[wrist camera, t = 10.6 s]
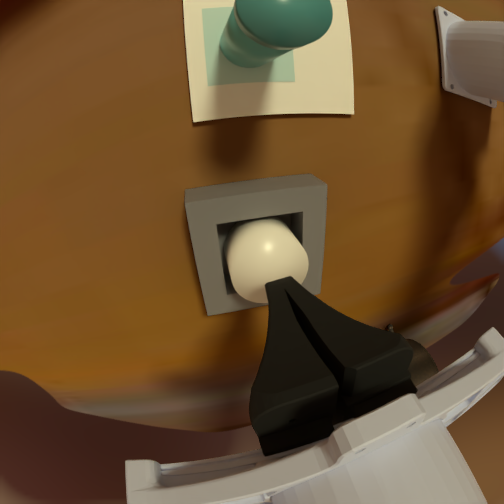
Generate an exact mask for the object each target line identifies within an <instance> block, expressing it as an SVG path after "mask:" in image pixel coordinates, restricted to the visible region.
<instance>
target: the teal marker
mask: <svg viewBox="0 0 504 504" xmlns="http://www.w3.org/2000/svg"><path fill="white" fill-rule="evenodd" d="M332 19H333V9H332V5H331V2H330V0H235V2H234V6H233V9H232V11H231V13H230V16H229V18H228V20H227V23H226V25H225V27H224V30H223V32H222V35H221V38H220V47H221V51H222V53H223V55H224V56H225V57H226V58H227V59H228V60H229V61H230V62H231V63H233V64H235V65H237V66H240V67H244V68H255V67H259V66H262V65H264V64H266V63H268V62H270V61H272V60H274V59H275V58H277V57H279V56H281V55H283V54H285V53H287V52H289V51H292V50H294V49H297V48H301V47H303V46H305V45H308V44H310V43H312V42H315V41H316V40H318V39H320V38H321V37H322V36H324V34H325V33H326V32H327V31H328V29H329V28H330V26H331V23H332Z"/></svg>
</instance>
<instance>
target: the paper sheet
mask: <svg viewBox="0 0 504 504" xmlns="http://www.w3.org/2000/svg"><path fill="white" fill-rule="evenodd" d="M234 2H235V0H183V9H184V25H185V40H186V53H187V65H188V76H189V87H190V97H191V106H192V116H193V122H199V121H206V120H214V119H223V118H232V117H242V116H255V115H270V114H296V113H332V114H354V87H353V65H352V50H351V38H350V27H349V18H348V10H347V2H346V0H330V2H331V5H332V9H333V19H332V23H331V26H330V28H329V29H328V31H327V32H326V33H325V34H324V36H322V37H321V38H320V39H318V40H316V41H315V42H312V43H310V44H308V45H305V46H303V47H301V48H297V49H294V50H292V51H289V52H287V53H285V54H283V55H281V56H279V57H277V58H275V59H274V60H272V61H270V62H268V63H266V64H264V65H262V66H259V67H255V68H244V67H240V66H237V65H235V64H233V63H231V62H230V61H229V60H228V59H227V58H226V57H225V56H224V55H223V53H222V51H221V47H220V38H221V35H222V32H223V30H224V27H225V25H226V23H227V20H228V18H229V16H230V13H231V11H232V9H233V6H234Z"/></svg>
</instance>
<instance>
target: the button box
mask: <svg viewBox="0 0 504 504" xmlns="http://www.w3.org/2000/svg"><path fill="white" fill-rule="evenodd" d="M326 205H327V184H326V183H324V182H323V181H321V180H320V179H318V178H317V177H315V176H314V175H312V174H302V175H291V176H281V177H272V178H263V179H255V180H247V181H239V182H232V183H225V184H218V185H211V186H205V187H199V188H193V189H187V190H185V208H186V214H187V219H188V225H189V230H190V235H191V240H192V245H193V251H194V255H195V260H196V265H197V270H198V275H199V279H200V284H201V288H202V293H203V297H204V302H205V306H206V310H207V315H208V316H210V315H216V314H222V313H227V312H233V311H238V310H243V309H249V308H254V307H259V306H264V305H268V303H256V302H251V301H249V300H246V299H245V298H243V297H242V296H240V295H239V294H238V293H237V292H236V290H235V288H234V287H233V284H232V280H231V276H230V273H229V269H228V265H227V261H226V257H225V252H224V243H225V239H226V237H227V235H228V233H229V231H230V230H231V228H232V227H233V226H234V225H235V224H236V223H237V222H239V221H241V220H247V219H254V218H261V217H268V216H275V217H278V218H279V219H281V220H282V221H283V222H284V223H285V224H286V225H287V226H288V228H289V229H290V230H291V232H292V233H293V235H294V236H295V237H296V239H297V240H298V241H299V243H300V244H301V245H302V247H303V248H304V250H305V251H306V253H307V256H308V262H309V266H308V272H307V275H306V277H305V279H304V281H303V282H302V284H301V285H302V286H303V287H304V288H305V289H307V290H308V291H309V292H310V293H312V294H313V295H316V294H320V289H321V279H322V268H323V255H324V241H325V225H326Z"/></svg>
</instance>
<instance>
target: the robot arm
mask: <svg viewBox="0 0 504 504" xmlns="http://www.w3.org/2000/svg"><path fill="white" fill-rule="evenodd" d="M435 12H436V18H437V25H438V32H439V41H440V51H441V66H442V86H443V88H444V90H445V91H448V92H451V93H454V94H457V95H460V96H463V97H466V98H469V99H472V100H474V101H477V102H480V103H482V104H485V105H487V106H490V107H492V108H496V106H497V101H501V102H504V22H499V21H465V20H463V19H461V18H460V17H458V16H456V15H455V14H453V13H451V12H449V11H447V10H446V9H444V8H442V7H436V8H435ZM265 290H266V295H267V300H268V306H269V318H268V331H267V338H266V344H265V349H264V353H263V357H262V361H261V364H260V367H259V370H258V373H257V376H256V378H255V381H254V383H253V386H252V388H251V395H250V403H249V415H250V420H251V423H252V427H253V429H254V430H255V432H256V434H257V436H258V438H259V442H260V445H261V449H257V450H253V451H249V452H244V453H239V454H234V455H229V456H223V457H218V458H212V459H205V460H199V461H191V462H182V463H171V464H159V463H158V462H156V461H154V460H149V459H141V460H126V461H125V463H126V464H125V466H126V492H127V504H487V502H486V499H485V497H484V495H483V494H482V491H481V489H480V487H479V486H478V484H477V482H476V480H475V478H474V476H473V474H472V472H471V470H470V469H469V467H468V465H467V463H466V461H465V460H464V458H463V456H462V454H461V452H460V451H459V449H458V447H457V446H456V444H455V442H454V440H453V439H452V437H451V435H450V434H449V432H448V430H447V429H446V427H447V426H448V425H450V424H451V423H452V422H453V421H455V420H456V419H457V418H458V417H460V416H461V415H462V414H463V413H465V412H466V411H467V410H468V409H469V408H471V406H473V405H474V404H475V403H476V402H477V401H479V400H480V399H481V398H482V397H483V396H484V395H485V394H487V393H488V392H489V391H490V390H491V389H492V388H493V387H494V386H495V385H496V384H497V383H498V382H499V381H500V380H501V379H502V377H503V376H504V338H502V336H501V335H500V334H499V333H498V332H497V331H496V329H495V328H494V327H492V328H491V329H489V330H488V331H487V332H486V333H484V334H483V335H482V336H481V337H480V338H479V339H478V341H477V342H476V344H475V347H474V348H473V349H472V350H470V351H469V352H467V353H466V354H465V355H463V356H462V357H461V358H459V359H458V360H456V361H455V362H453V363H452V364H450V365H449V366H448V367H446V368H444V369H443V370H441V371H440V372H438V373H437V374H435V375H434V376H432V377H430V378H429V379H427V380H425V381H424V382H422V383H420V384H419V385H417V386H415V385H414V383H413V382H412V380H411V379H410V378H411V373H410V372H409V370H408V368H409V365H410V363H411V361H412V358H413V354H414V351H413V348H412V347H411V346H410V344H409V343H408V342H407V341H406V339H405V338H404V337H402V335H401V334H398V333H394V332H389V331H385V330H381V329H378V328H375V327H372V326H369V325H366V324H364V323H361V322H359V321H356V320H354V319H352V318H350V317H348V316H346V315H344V314H342V313H340V312H338V311H336V310H335V309H333V308H332V307H330V306H328V305H327V304H325V303H324V302H322V301H321V300H320V299H318V298H317V297H316V296H314V295H313V294H312V293H310V292H309V291H308V290H307V289H305V288H304V287H303V286H302V285H301V284H300V283H298V282H297V281H296V280H295V279H294V278H293V277H291V276H288V277H285V278H281V279H278V280H274V281H271V282H267V283H266V284H265Z"/></svg>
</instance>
